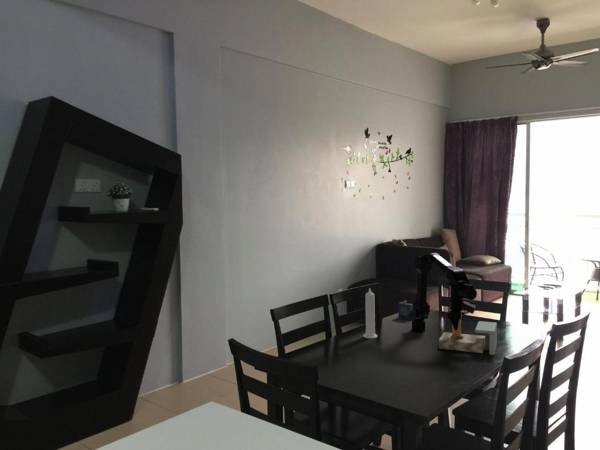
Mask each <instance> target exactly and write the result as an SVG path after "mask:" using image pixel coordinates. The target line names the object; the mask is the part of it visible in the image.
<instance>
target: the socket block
mask: <svg viewBox="0 0 600 450" xmlns="http://www.w3.org/2000/svg"><path fill="white" fill-rule="evenodd" d="M485 347H486V335H479V334H467V333H461V336H460V337H455V336H452V332H447V331H445V332H444V331H443V333H442V334H441V335H440V337H439V340H438V349H439V350H440V349H441V350H451V351H460V352H461V351H462V352H470V353H479V354H483V353H484V350H485Z"/></svg>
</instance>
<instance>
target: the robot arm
mask: <svg viewBox="0 0 600 450" xmlns="http://www.w3.org/2000/svg"><path fill="white" fill-rule="evenodd" d="M414 264H415V265H414V267H415V268H414V269H415V270H416V272H417V283H416V284H417V287H416V298H415V299H416V300H415V301H414V303H413V308H412V311H411V312H410V313H409V319H411V320H410V321H411V329H410V331H411V332H418V333H424V332H425V331H426V330H427V321H426V320H428V319H429V315H430V313H431V305H430V304H429V303H428V301H427V298H428V297H427V294H428V276H429V273H430V271H432V267H433V265H435V266H436V267H437V268H439V270H441V271H442V272H444V274H445V278H446V279H447V280H448V281H449V282H448V283H447V284H446V285H447V286H449V288H450V289H449V291H450V292H449V293H450V296H449V303H450V305H449V306H450V307H449V310H448V311H447V313H446V318H447V319H448V318H449V321H450V323H451V324H452V325H453V327H454V330H457V329H458V324H459V320H460V319H461V320H462V318H463V316H464V314H465V312H468V313H470V314H472V315H473V314H474V313H475V311H476V307H477V306H476V305H475V301H474V300H475V299H476V298H477V296H478V293H477V292H478V291H477V290H476V289H477V288H475V287H474V285H473V284H471V282H470V280H469V278H468V276H467V274H466V271H465V270H464V269H462V268H460V267H458V266H454V265H452V264H451V263H450V262H448V261H447V260H446V259H445V258H443V257H442V256H440V254H439V253H438V252H429V253H428V254H425V255H423V256H417V257H415V260H414ZM465 300H468V301H465ZM452 325H451V326H452Z"/></svg>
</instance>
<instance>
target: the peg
mask: <svg viewBox="0 0 600 450" xmlns="http://www.w3.org/2000/svg"><path fill="white" fill-rule="evenodd" d="M451 333H452V336H455V337H460V336H461V334H462V318H461V319H460V320H459V324H458V329H457V330H454V327H453V325H451Z"/></svg>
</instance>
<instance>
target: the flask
mask: <svg viewBox="0 0 600 450" xmlns="http://www.w3.org/2000/svg"><path fill="white" fill-rule="evenodd" d="M407 302H408V300H403V301H401V302H398V318H399V319H401V320H408V321H412V320H411V319H409V313H410V312H411V311H412V308H413V304H414V303H413V304H412V303H407Z"/></svg>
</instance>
